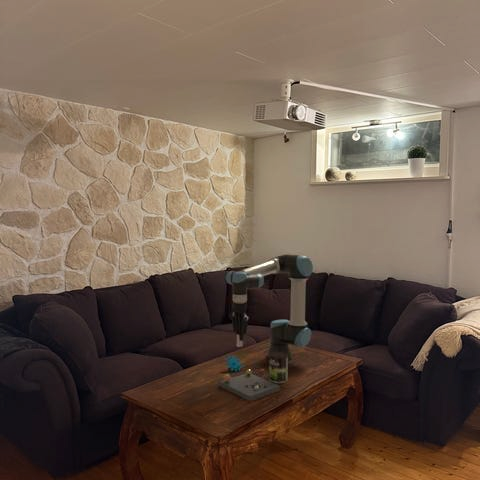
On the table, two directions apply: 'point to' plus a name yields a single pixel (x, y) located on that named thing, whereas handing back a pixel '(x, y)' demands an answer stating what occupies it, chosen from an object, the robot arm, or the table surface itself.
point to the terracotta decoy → (227, 378)
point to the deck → (250, 386)
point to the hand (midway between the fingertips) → (239, 346)
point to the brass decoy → (248, 372)
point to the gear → (233, 363)
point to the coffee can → (278, 367)
